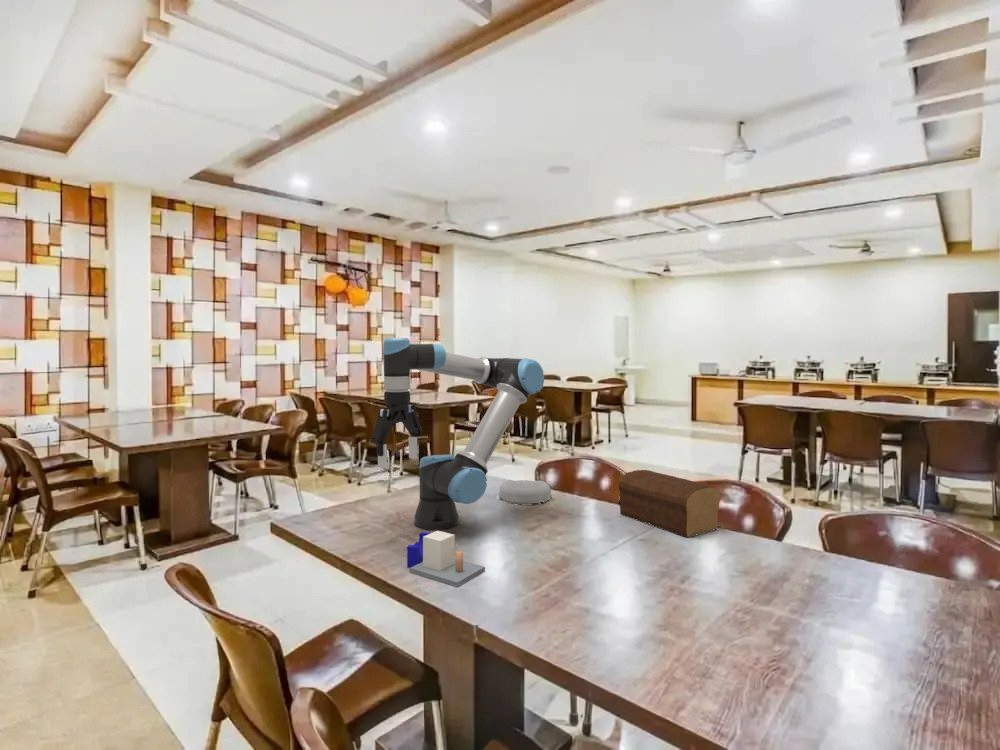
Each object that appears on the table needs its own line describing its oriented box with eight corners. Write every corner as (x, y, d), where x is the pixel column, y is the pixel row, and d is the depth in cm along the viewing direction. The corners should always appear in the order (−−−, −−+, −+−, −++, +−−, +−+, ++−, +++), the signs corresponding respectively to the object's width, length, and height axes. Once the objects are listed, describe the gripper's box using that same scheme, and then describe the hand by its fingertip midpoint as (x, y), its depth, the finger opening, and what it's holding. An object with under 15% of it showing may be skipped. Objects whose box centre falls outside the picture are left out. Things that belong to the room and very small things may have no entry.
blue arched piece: (416, 552, 165) (416, 531, 165) (430, 553, 164) (430, 532, 164) (401, 568, 153) (401, 546, 153) (417, 569, 153) (417, 547, 152)
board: (438, 558, 160) (438, 536, 160) (484, 571, 151) (485, 548, 151) (409, 572, 150) (409, 549, 150) (457, 587, 141) (457, 562, 141)
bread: (684, 539, 177) (686, 489, 176) (616, 515, 202) (617, 471, 201) (720, 529, 187) (722, 481, 186) (651, 507, 212) (652, 465, 211)
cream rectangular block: (437, 558, 156) (437, 530, 156) (454, 563, 153) (454, 534, 153) (423, 565, 151) (423, 536, 151) (440, 570, 148) (440, 541, 148)
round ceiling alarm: (488, 505, 214) (488, 489, 214) (499, 489, 239) (499, 474, 238) (553, 509, 210) (554, 493, 209) (558, 492, 234) (558, 477, 234)
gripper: (414, 386, 177) (415, 453, 178) (356, 393, 155) (358, 469, 157) (433, 387, 173) (434, 455, 174) (377, 395, 152) (378, 472, 153)
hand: (398, 462), depth 166 cm, fingers open, 13 cm apart
